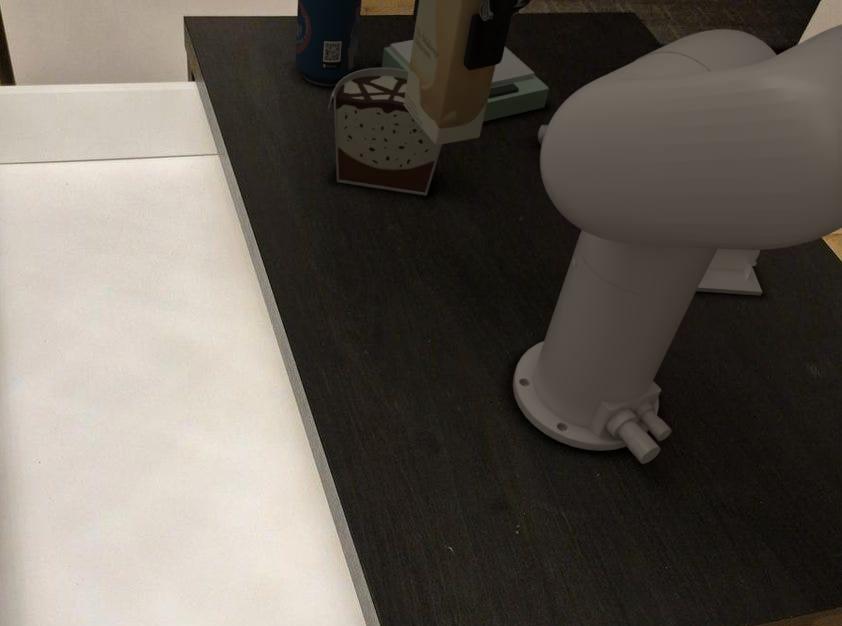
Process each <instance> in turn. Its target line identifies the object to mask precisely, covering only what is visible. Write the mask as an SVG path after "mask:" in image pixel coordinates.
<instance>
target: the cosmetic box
mask: <svg viewBox="0 0 842 626" xmlns="http://www.w3.org/2000/svg"><path fill="white" fill-rule="evenodd" d="M474 14H479V1H478V0H419V5H418V12H417V19H416V21H415V25H414V26H415V27H414V33H413V39H412V40H413V45H412V53H411V59H410V66H409V72H408V79H407V85H406V92H405V99H404V106H405V108H406V109H407V110H408V112H409V113H410V114H411V116H412V117H413V118H414V119H415V121H416V122H417V123H418V124H419V126H420V127H421V128H422V129H423V130H424V132H425V133H426V134H427V135H428V136H429V137H430V139H431V140H432V141H433V142H434V143H435V144H436V145H440V144H442V145H445V144H450V143H456V142H462V141H467V140H473V139H479V138H480V136H481V133H482V127H483V124H484V122H483V120H484V115H485V111H486V106H487V102H488V97H489V93H490V88H491V84H492V79H493V75H494V71H495V66H496V65H493V66H488V67H484V68H479V69H475V70H468V69H467V68H466V67H465V66H464V57H465V51H466V46H467V40H468V35H469V29H470V24H471V19H472V15H474Z"/></svg>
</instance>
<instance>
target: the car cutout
mask: <svg viewBox="0 0 842 626" xmlns="http://www.w3.org/2000/svg"><path fill="white" fill-rule="evenodd" d="M760 252H761V250H739V249H717V251H716V253H715V255H714V257H713V259H712V261H711V263H710V265H709V267H708V269H707V271H706V273H705V275H704V277H703V279H702V281H701V282H700V284H699V286H698V288H697V290H696V292H701V293H703V292H705V293H716V294H717V293H719V294H730V295H731V294H735V295H745V296H747V295H749V296H759V297H760V296H761V295H762V294H763V290H762V288H761V285H760V283H759V280H758V277H757V275H756V272H755V270H754V268H753V267H756V266H757V264H758V262H757V261H756V260H757V259H758V258H759V255H760Z"/></svg>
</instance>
